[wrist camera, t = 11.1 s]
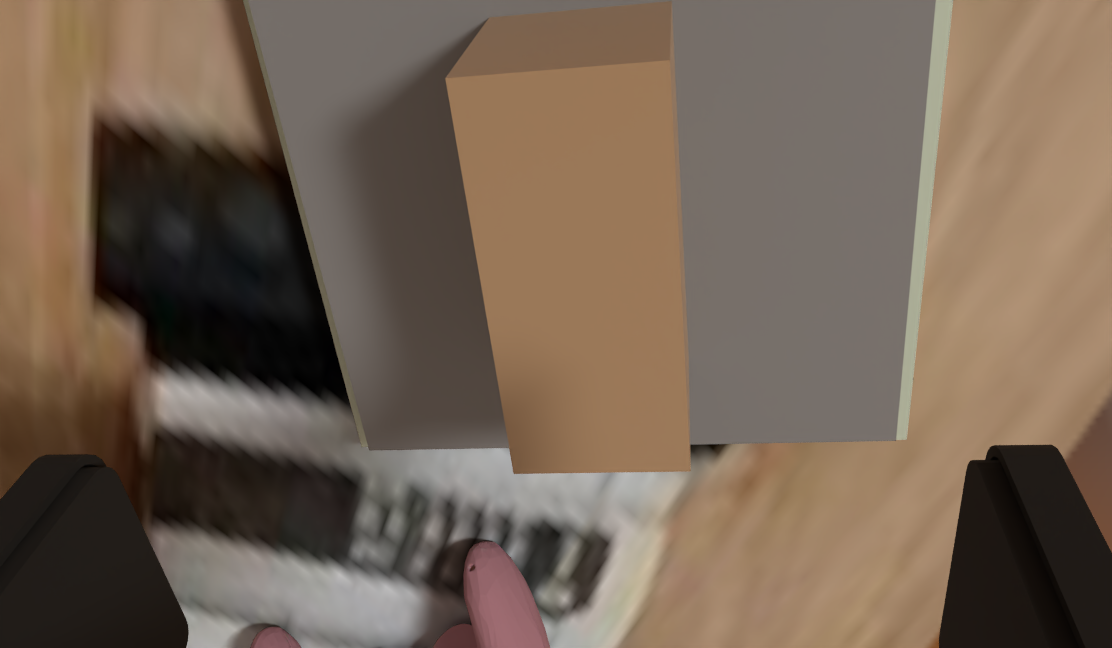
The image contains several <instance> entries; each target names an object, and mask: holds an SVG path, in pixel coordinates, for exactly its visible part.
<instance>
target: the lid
mask: <svg viewBox="0 0 1112 648" xmlns="http://www.w3.org/2000/svg"><path fill="white" fill-rule="evenodd" d="M248 2H249V6H250V9H251V13H252V17H253V20H254V24H255V28H256V32H257V35H258V39H259V43H260V46H261V50H262V54H263V58H264V61H265V65H266V69H267V72H268V76H269V80H270V84H271V87H272V91H273V95H274V99H275V102H276V106H277V110H278V113H279V117H280V121H281V125H282V128H283V132H284V136H285V139H286V143H287V147H288V151H289V154H290V158H291V162H292V165H293V169H294V173H295V177H296V180H297V184H298V188H299V191H300V195H301V199H302V203H303V206H304V210H305V214H306V217H307V221H308V225H309V229H310V232H311V236H312V240H313V243H314V247H315V251H316V255H317V258H318V262H319V266H320V269H321V273H322V277H323V281H324V284H325V288H326V292H327V295H328V299H329V303H330V307H331V310H332V314H333V318H334V322H335V325H336V329H337V333H338V336H339V340H340V344H341V348H342V351H343V355H344V359H345V362H346V366H347V370H348V374H349V377H350V381H351V385H352V388H353V392H354V396H355V400H356V403H357V407H358V411H359V414H360V418H361V422H362V426H363V429H364V433H365V437H366V440H367V444H368V448H369V450H413V449H468V448H509V449H510V455H511V461H512V467H513V472H514V474H529V473H601V472H674V471H690V444H743V443H798V442H853V441H896V436H897V425H898V414H899V403H900V392H901V380H902V369H903V358H904V347H905V336H906V325H907V314H908V303H909V292H910V281H911V270H912V259H913V248H914V236H915V225H916V214H917V203H918V192H919V181H920V170H921V159H922V148H923V137H924V126H925V115H926V104H927V93H928V81H929V70H930V59H931V48H932V37H933V26H934V15H935V4H936V0H248Z"/></svg>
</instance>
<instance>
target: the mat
mask: <svg viewBox="0 0 1112 648" xmlns="http://www.w3.org/2000/svg"><path fill="white" fill-rule="evenodd" d="M243 2H244V6H245V10H246V14H247V17H248V21H249V25H250V29H251V33H252V36H253V40H254V44H255V48H256V51H257V55H258V59H259V63H260V66H261V70H262V74H263V78H264V81H265V85H266V89H267V93H268V96H269V100H270V104H271V108H272V112H273V115H274V119H275V123H276V127H277V130H278V134H279V138H280V142H281V145H282V149H283V153H284V157H285V160H286V164H287V168H288V172H289V175H290V179H291V183H292V187H293V191H294V194H295V198H296V202H297V206H298V209H299V213H300V217H301V221H302V224H303V228H304V232H305V236H306V239H307V243H308V247H309V251H310V255H311V258H312V262H313V266H314V270H315V273H316V277H317V281H318V285H319V288H320V292H321V296H322V300H323V303H324V307H325V311H326V315H327V318H328V322H329V326H330V330H331V334H332V337H333V341H334V345H335V349H336V352H337V356H338V360H339V364H340V367H341V371H342V375H343V379H344V382H345V386H346V390H347V394H348V397H349V401H350V405H351V409H352V413H353V416H354V420H355V424H356V428H357V431H358V435H359V439H360V443H361V446H362V447H368V444H367V440H366V437H365V433H364V429H363V426H362V422H361V418H360V414H359V411H358V407H357V403H356V400H355V396H354V392H353V388H352V385H351V381H350V377H349V374H348V370H347V366H346V362H345V359H344V355H343V351H342V348H341V344H340V340H339V336H338V333H337V329H336V325H335V322H334V318H333V314H332V310H331V307H330V303H329V299H328V295H327V292H326V288H325V284H324V281H323V277H322V273H321V269H320V266H319V262H318V258H317V255H316V251H315V247H314V243H313V240H312V236H311V232H310V229H309V225H308V221H307V217H306V214H305V210H304V206H303V203H302V199H301V195H300V191H299V188H298V184H297V180H296V177H295V173H294V169H293V165H292V162H291V158H290V154H289V151H288V147H287V143H286V139H285V136H284V132H283V128H282V125H281V121H280V117H279V113H278V110H277V106H276V102H275V99H274V95H273V91H272V87H271V84H270V80H269V76H268V72H267V69H266V65H265V61H264V58H263V54H262V50H261V46H260V43H259V39H258V35H257V32H256V28H255V24H254V20H253V17H252V13H251V9H250V6H249V2H248V0H243ZM952 6H953V0H936V4H935V15H934V26H933V37H932V48H931V59H930V70H929V81H928V93H927V104H926V115H925V126H924V137H923V148H922V159H921V170H920V181H919V192H918V203H917V214H916V225H915V236H914V248H913V259H912V270H911V281H910V292H909V303H908V314H907V325H906V336H905V347H904V358H903V369H902V380H901V392H900V403H899V414H898V425H897V436H896V440H907V431H908V422H909V412H910V403H911V394H912V384H913V375H914V365H915V356H916V346H917V337H918V327H919V318H920V308H921V299H922V290H923V280H924V271H925V261H926V252H927V242H928V233H929V223H930V214H931V205H932V195H933V186H934V176H935V167H936V157H937V148H938V138H939V129H940V119H941V110H942V101H943V91H944V82H945V72H946V63H947V53H948V44H949V34H950V25H951V16H952Z"/></svg>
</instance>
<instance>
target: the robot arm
mask: <svg viewBox="0 0 1112 648" xmlns="http://www.w3.org/2000/svg"><path fill="white" fill-rule="evenodd" d="M187 642H188V624H187V621H186V618H185V616H184V614H183V612H182V610H181V607H180V605H179V603H178V601H177V599H176V597H175V595H174V593H173V590H172V588H171V586H170V584H169V582H168V580H167V578H166V576H165V574H164V571H163V569H162V567H161V565H160V563H159V561H158V559H157V557H156V555H155V552H154V550H153V548H152V546H151V544H150V542H149V540H148V538H147V535H146V533H145V531H144V529H143V527H142V525H141V523H140V521H139V519H138V516H137V514H136V512H135V510H134V508H133V506H132V504H131V502H130V500H129V497H128V495H127V493H126V491H125V489H124V487H123V485H122V483H121V480H120V478H119V476H118V475H117V473H116V472H115V470H113V469H112V468H110V467H107V466H106V465H105V463H104V462H103V461H102V459H100V458H99V457H97V456H96V455H88V454H86V455H45V456H42V457H39V458H38V459H37V460H35V461H34V462H33V463H32V464H31V465H30V466H29V467H28V468H27V470H26V471H25V472H24V473H23V474H22V475H21V476H20V478H19V479H18V480H17V481H16V482H15V483H14V484H13V486H12V487H11V488H10V489H9V490H8V491H7V493H6V494H5V495H4V496H3V497H2V498H1V499H0V648H186V646H187ZM939 648H1112V553H1111V551H1110V549H1109V547H1108V545H1107V543H1106V541H1105V539H1104V537H1103V535H1102V533H1101V531H1100V529H1099V527H1098V525H1097V523H1096V521H1095V519H1094V517H1093V516H1092V513H1091V512H1090V510H1089V508H1088V506H1087V504H1086V502H1085V500H1084V498H1083V496H1082V494H1081V492H1080V490H1079V488H1078V486H1077V484H1076V482H1075V480H1074V478H1073V476H1072V474H1071V472H1070V471H1069V468H1068V466H1067V465H1066V463H1065V461H1064V459H1063V457H1062V455H1061V453H1060V452H1059V450H1058V449H1057V448H1056V447H1054V446H1053V445H994V446H991V447H990V449H989V450H988V452H987V455H986V459H985V460H972V461H970V462H969V464H968V466H967V470H966V476H965V482H964V488H963V494H962V500H961V506H960V513H959V519H958V525H957V531H956V537H955V543H954V549H953V555H952V561H951V568H950V574H949V580H948V586H947V592H946V598H945V604H944V610H943V616H942V623H941V629H940V636H939Z"/></svg>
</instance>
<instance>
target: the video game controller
mask: <svg viewBox="0 0 1112 648" xmlns="http://www.w3.org/2000/svg"><path fill="white" fill-rule="evenodd" d="M463 578H464V598H465V602H466V606H467V609H468V613H469V616H470V620H471V623H472V625H469V624H459V625H456V626H454V627H452V628H450V629H448V630H447V631H446V632H445V633H443V634H442V635H441V637H440V638H439V639H438V640H437V641H436V643H435V645H434V646H433V648H550V645H549V642H548V638H547V635H546V631H545V627H544V625H543V622H542V619H541V617H540V614H539V611H538V609H537V606H536V603H535V601H534V599H533V596H532V594H531V591H530V589H529V587H528V585H527V583H526V581H525V579H524V577H523V576H522V574H521V573H520V571H519V570H518V568H517V566H516V565H515V563H514V562H513V560H512V559H511V557H510V556H509V555H508V554H507V553H506V552H505V551H504V550H503V549H502V548H501V547H500V546H499V545H497V544H496V543H495V542H492V541H482V542H479V543H477V544H474V545H473V546H472V547H471V548H470V550H469V553H468V555H467V558H466V561H465V567H464V575H463ZM250 648H301V646H300V645H299V643H298V642H297V641H296V640H295V639H294V638H293V637H292V636H291V635H289V634H288V633H287V632H286V631H285V630H284V629H281V628H280V627H268V628H265V629H263V630H262V631H260V632H259V633H258V634H257V635H256V637H255V638H254V640H253V642H252V645H251V647H250Z"/></svg>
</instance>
